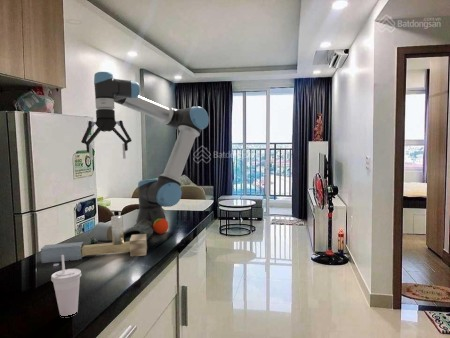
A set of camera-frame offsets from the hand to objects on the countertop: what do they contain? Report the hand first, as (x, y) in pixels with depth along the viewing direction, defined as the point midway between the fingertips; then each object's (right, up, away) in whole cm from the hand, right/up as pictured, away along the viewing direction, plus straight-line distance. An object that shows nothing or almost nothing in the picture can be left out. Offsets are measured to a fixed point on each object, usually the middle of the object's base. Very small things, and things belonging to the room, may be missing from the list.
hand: (108, 159), depth 144 cm
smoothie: (+14, -38, -66) cm, 77 cm away
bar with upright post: (+7, -35, -21) cm, 41 cm away
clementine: (+21, -34, +8) cm, 41 cm away
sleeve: (-7, -36, -24) cm, 44 cm away
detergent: (+14, -35, +2) cm, 37 cm away
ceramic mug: (0, -35, +1) cm, 35 cm away
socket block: (+18, -35, -19) cm, 44 cm away
